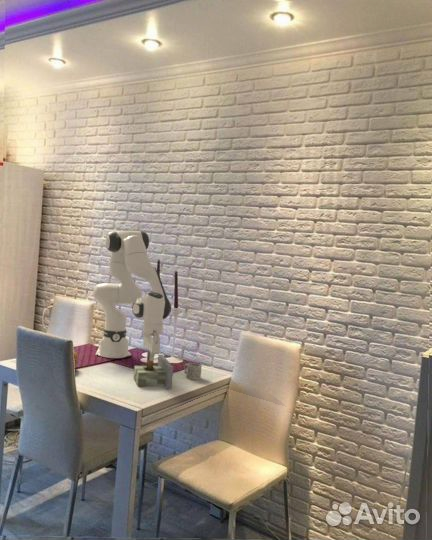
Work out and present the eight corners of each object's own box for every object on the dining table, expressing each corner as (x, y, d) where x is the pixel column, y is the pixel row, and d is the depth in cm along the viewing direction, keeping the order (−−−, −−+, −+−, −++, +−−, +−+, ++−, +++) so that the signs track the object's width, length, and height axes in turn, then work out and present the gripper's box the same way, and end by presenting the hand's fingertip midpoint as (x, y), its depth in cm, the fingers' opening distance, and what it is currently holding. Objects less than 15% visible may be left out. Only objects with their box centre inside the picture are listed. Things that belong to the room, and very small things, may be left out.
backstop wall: (156, 375, 231) (158, 354, 231) (160, 375, 232) (162, 354, 231) (167, 389, 210) (168, 367, 210) (171, 389, 211) (173, 367, 211)
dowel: (145, 369, 219) (147, 347, 219) (152, 369, 220) (153, 347, 220) (146, 371, 216) (148, 349, 216) (153, 371, 217) (155, 349, 217)
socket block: (133, 378, 223) (134, 365, 222) (158, 378, 226) (159, 365, 226) (137, 386, 211) (138, 373, 211) (164, 386, 215) (165, 372, 215)
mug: (203, 379, 232) (204, 365, 231) (193, 381, 227) (194, 367, 226) (189, 373, 238) (190, 360, 238) (179, 375, 234) (180, 362, 233)
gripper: (164, 333, 209) (162, 365, 209) (155, 325, 228) (152, 354, 229) (150, 333, 207) (147, 365, 207) (141, 324, 226) (139, 353, 227)
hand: (150, 359), depth 218 cm, fingers closed on dowel, 3 cm apart
